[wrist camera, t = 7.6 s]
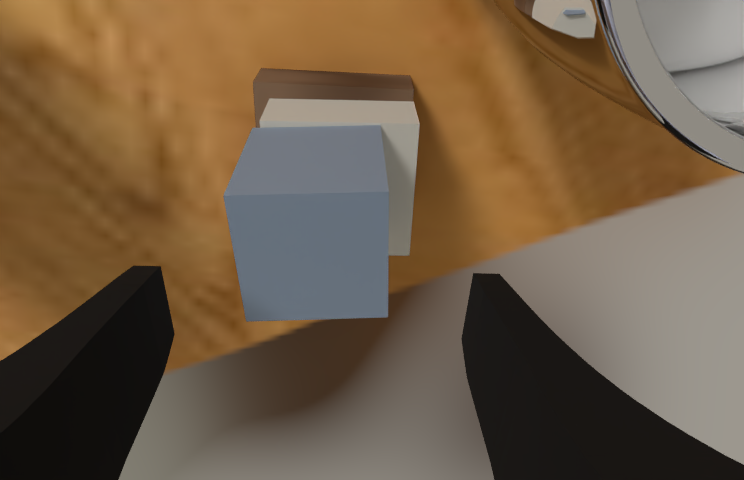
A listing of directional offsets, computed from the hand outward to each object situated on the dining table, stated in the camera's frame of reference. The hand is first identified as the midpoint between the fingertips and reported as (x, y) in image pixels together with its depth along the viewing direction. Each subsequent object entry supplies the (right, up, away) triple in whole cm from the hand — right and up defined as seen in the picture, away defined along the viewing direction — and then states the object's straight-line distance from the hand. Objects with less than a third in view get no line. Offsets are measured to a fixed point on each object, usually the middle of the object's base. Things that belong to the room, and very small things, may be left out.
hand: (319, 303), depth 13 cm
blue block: (0, +3, +5) cm, 6 cm away
